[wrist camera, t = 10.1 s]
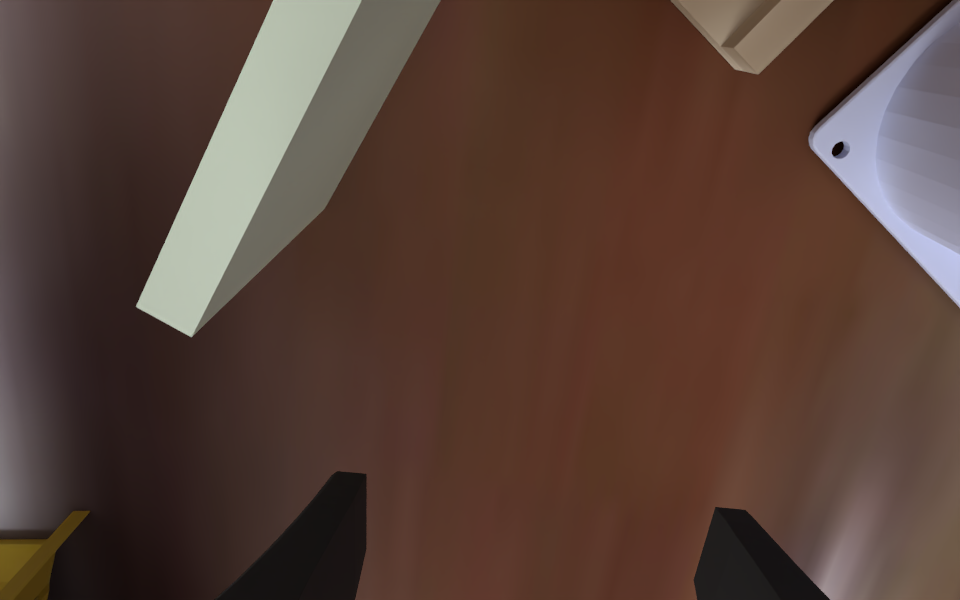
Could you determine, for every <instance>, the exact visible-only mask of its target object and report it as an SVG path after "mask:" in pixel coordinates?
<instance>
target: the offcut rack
mask: <svg viewBox="0 0 960 600" xmlns="http://www.w3.org/2000/svg"><path fill="white" fill-rule="evenodd" d="M670 1H671V2H672V3H673V4H674V5H675V6H676V7H677V8H678V9H679V10H680V11H681V12H682V13H683V14H684V15H685V17H686V18H687V19H688V20H689V21H690V22H691V23H692V24H693V25H694V26H695V27H696V28H697V29H698V30H699V32H700V33H701V34H702V35H703V36H704V37H705V38H706V39H707V40H708V41H709V42H710V43H711V44H712V45H713V46H714V48H715V49H716V50H717V51H718V52H719V53H720V54H721V55H722V56H723V57H724V58H725V59H726V60H727V61H728V63H729V64H730V65H731V66H732V67H733V68H734V69H736V70H740V71H745V72H749V73H754V74H759V73H760V72H761V71H762V70H763V69H764V68H765V67H766V66H767V65H768V64H769V63H770V62H771V61H772V60H773V59H774V58H776V57H777V56H778V55H779V54H780V53H781V52H782V51H783V50H784V49H785V48H786V47H787V46H788V45H789V44H790V43H791V42H792V41H793V40H794V39H795V38H796V37H797V36H798V35H799V34H800V33H801V32H802V31H803V30H804V29H805V28H806V27H807V26H808V25H809V24H810V23H811V22H812V21H813V20H814V19H815V18H816V17H817V16H818V15H819V14H820V13H821V12H822V11H823V10H824V9H825V8H826V7H827V6H828V5H829V4H830V3H831V2H832V1H833V0H670Z"/></svg>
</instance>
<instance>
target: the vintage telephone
mask: <svg viewBox="0 0 960 600" xmlns="http://www.w3.org/2000/svg"><path fill="white" fill-rule="evenodd" d="M89 512H90V511H73V512H72V513H71V514H70V515H69V516H68V517H67V518H66V519H65V520H64V522H63V523H62V524H61V525H60V526H59V527H58V528H57V529H56V530H55V531H54V533H53V534H52V535H51V536H50V537H49V538H48V539H0V600H47V599H48V594H49V581H50V576H51V571H52V567H53V562H54V557H55V552H56V550H57V549H58V548H59V547H60V546H61V545H62V543H63V542H64V541H65V540H66V539H67V538H68V536H69V535H70V534H71V533H72V532H73V531H74V530H75V528H76V527H77V526H78V525H79V524H80V523H81V522H82V520H83V519H84V518H85V517H86V516H87V515H88V514H89Z"/></svg>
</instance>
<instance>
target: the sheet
mask: <svg viewBox="0 0 960 600" xmlns="http://www.w3.org/2000/svg"><path fill="white" fill-rule="evenodd" d="M440 1H441V0H273V2H272V5H271V7H270V9H269V11H268V14H267V16H266V18H265V20H264V22H263V25H262V27H261V29H260V31H259V34H258V36H257V38H256V40H255V43H254V45H253V47H252V49H251V51H250V54H249V56H248V58H247V60H246V63H245V65H244V67H243V69H242V71H241V74H240V76H239V78H238V80H237V83H236V85H235V87H234V89H233V92H232V94H231V96H230V98H229V100H228V103H227V105H226V107H225V109H224V112H223V114H222V116H221V118H220V120H219V123H218V125H217V127H216V129H215V132H214V134H213V136H212V138H211V141H210V143H209V145H208V147H207V149H206V152H205V154H204V156H203V158H202V161H201V163H200V165H199V167H198V170H197V172H196V174H195V176H194V178H193V181H192V183H191V185H190V187H189V190H188V192H187V194H186V196H185V198H184V201H183V203H182V205H181V207H180V210H179V212H178V214H177V216H176V219H175V221H174V223H173V225H172V227H171V230H170V232H169V234H168V236H167V239H166V241H165V243H164V245H163V247H162V250H161V252H160V254H159V256H158V259H157V261H156V263H155V265H154V268H153V270H152V272H151V274H150V276H149V279H148V281H147V283H146V285H145V288H144V290H143V292H142V294H141V296H140V299H139V301H138V303H137V305H136V307H137V308H139V309H141V310H142V311H144V312H146V313H148V314H150V315H152V316H153V317H155V318H157V319H159V320H161V321H163V322H164V323H166V324H168V325H170V326H172V327H173V328H175V329H177V330H179V331H181V332H183V333H184V334H186V335H188V336H190V337H192V336H193V335H194V334H196V333H197V332H198V331H199V330H200V329H201V328H202V327H203V326H204V325H205V324H206V323H207V322H208V321H209V320H210V319H211V318H212V317H213V316H214V315H215V314H216V313H217V312H218V311H219V310H220V309H221V308H222V307H223V306H225V305H226V304H227V303H228V302H229V301H230V300H231V299H232V298H233V297H234V296H235V295H236V294H237V293H238V292H239V291H240V290H241V289H242V288H243V287H244V286H245V285H246V284H247V283H248V282H249V281H250V280H251V279H252V278H253V277H255V276H256V275H257V274H258V273H259V272H260V271H261V270H262V269H263V268H264V267H265V266H266V265H267V264H268V263H269V262H270V261H271V260H272V259H273V258H274V257H275V256H276V255H277V254H278V253H279V252H280V251H281V250H282V249H284V248H285V247H286V246H287V245H288V244H289V243H290V242H291V241H292V240H293V239H294V238H295V237H296V236H297V235H298V234H299V233H300V232H301V231H302V230H303V229H304V228H305V227H306V226H307V225H308V224H309V223H310V222H311V221H312V220H314V219H315V218H316V217H317V216H318V215H319V214H320V213H321V212H322V211H323V210H324V209H325V207H326V206H327V204H328V202H329V200H330V198H331V197H332V195H333V193H334V191H335V189H336V188H337V186H338V184H339V182H340V181H341V179H342V177H343V175H344V173H345V172H346V170H347V168H348V166H349V164H350V163H351V161H352V159H353V157H354V155H355V154H356V152H357V150H358V148H359V146H360V145H361V143H362V141H363V139H364V137H365V136H366V134H367V132H368V130H369V128H370V127H371V125H372V123H373V121H374V119H375V118H376V116H377V114H378V112H379V110H380V109H381V107H382V105H383V103H384V101H385V100H386V98H387V96H388V94H389V92H390V91H391V89H392V87H393V85H394V83H395V82H396V80H397V78H398V76H399V74H400V73H401V71H402V69H403V67H404V65H405V64H406V62H407V60H408V58H409V56H410V55H411V53H412V51H413V49H414V47H415V46H416V44H417V42H418V40H419V38H420V37H421V35H422V33H423V31H424V29H425V28H426V26H427V24H428V22H429V20H430V19H431V17H432V15H433V13H434V11H435V10H436V8H437V6H438V4H439V2H440Z"/></svg>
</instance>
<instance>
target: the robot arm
mask: <svg viewBox="0 0 960 600" xmlns="http://www.w3.org/2000/svg"><path fill="white" fill-rule="evenodd" d="M841 141H842V142H843V144H844V148H843V150H842V152H841V153H840V154H839V155H837V156H833V155H832V148H833V147H834V145H835V144H837V143H838V142H841ZM809 145H810V147H811V149H812V150H813V151H814V152H815V153H816V154H817V155H818V157H819V158H820V159H821V160H822V161H823V162H824V163H825V164H826V165H827V166H828V167H829V168H830V169H831V170H832V172H833V173H834V174H835V175H836V176H837V177H838V178H839V179H840V180H841V181H842V182H843V183H844V184H845V185H846V187H847V188H848V189H849V190H850V191H851V192H852V193H853V194H854V195H855V196H856V197H857V198H858V199H859V200H860V201H861V203H862V204H863V205H864V206H865V207H866V208H867V209H868V210H869V211H870V212H871V213H872V214H873V215H874V216H875V218H876V219H877V220H878V221H879V222H880V223H881V224H882V225H883V226H884V227H885V228H886V229H887V230H888V231H889V233H890V234H891V235H892V236H893V237H894V238H895V239H896V240H897V241H898V242H899V243H900V244H901V245H902V246H903V248H904V249H905V250H906V251H907V252H908V253H909V254H910V255H911V256H912V257H913V258H914V259H915V260H916V261H917V262H918V264H919V265H920V266H921V267H922V268H923V269H924V270H925V271H926V272H927V273H928V274H929V275H930V276H931V277H932V279H933V280H934V281H935V282H936V283H937V284H938V285H939V286H940V287H941V288H942V289H943V290H944V291H945V292H946V294H947V295H948V296H949V297H950V298H951V299H952V300H953V301H954V302H955V303H956V304H957V305H958V306H959V307H960V0H952V1H951V2H950V3H949V4H948V5H947V6H946V7H945V8H944V9H943V10H942V11H940V12H939V13H938V14H937V15H936V16H935V17H934V18H933V19H932V20H931V21H929V22H928V23H927V24H926V25H925V26H924V27H923V28H922V29H921V30H920V31H919V32H917V33H916V34H915V35H914V36H913V37H912V38H911V39H910V40H909V41H908V42H906V43H905V44H904V45H903V46H902V47H901V48H900V49H899V50H898V51H897V52H896V53H894V54H893V55H892V56H891V57H890V58H889V59H888V60H887V61H886V62H885V63H884V64H882V65H881V66H880V67H879V68H878V69H877V70H876V71H875V72H874V73H873V74H871V75H870V76H869V77H868V78H867V79H866V80H865V81H864V82H863V83H862V84H861V85H859V86H858V87H857V88H856V89H855V90H854V91H853V92H852V93H851V94H850V95H848V96H847V97H846V98H845V99H844V100H843V101H842V102H841V103H840V104H839V105H838V106H836V107H835V108H834V109H833V110H832V111H831V112H830V113H829V114H828V115H827V116H825V117H824V118H823V119H822V120H821V121H820V122H819V123H818V124H817V125H816V126H815V127H814V128H813V129H812V131H811V132H810V135H809ZM365 552H366V474H361V473H350V472H340V471H337V472H336V473H334V474H333V475H332V476H331V477H330V478H329V480H328V481H327V482H326V484H325V485H324V486H323V487H322V489H321V490H320V491H319V492H318V494H317V495H316V496H315V497H314V498H313V500H312V501H311V502H310V503H309V504H308V506H307V507H306V508H305V509H304V510H303V511H302V513H301V514H300V515H299V516H298V517H297V518H296V519H295V520H294V522H293V523H292V524H291V525H290V526H289V527H288V528H287V529H286V530H285V531H284V532H283V534H282V535H281V536H280V537H279V538H278V539H277V540H276V541H275V542H274V543H273V544H272V545H271V546H270V547H269V549H268V550H267V551H266V552H265V553H263V554H262V555H261V556H260V557H259V558H258V559H257V560H256V561H255V562H254V563H253V564H252V565H251V566H250V567H249V568H248V569H247V570H246V571H245V572H244V573H243V574H242V575H241V576H240V577H239V578H238V579H237V580H236V581H235V582H234V583H232V584H231V585H230V586H229V587H228V588H227V589H226V590H225V591H224V592H222V593H221V594H220V595H219V596H218V597H217V598H216V599H214V600H355V597H356V592H357V588H358V584H359V579H360V575H361V570H362V566H363V561H364V557H365ZM694 584H695V589H696V595H697V600H830V599H829V598H828V597H827V596H826V595H825V594H824V593H823V592H822V591H821V590H820V589H819V588H818V587H817V586H816V585H815V584H814V583H813V582H812V581H811V580H810V578H809V577H808V576H807V575H806V574H805V573H804V572H803V571H802V570H801V569H800V568H799V567H798V566H797V565H796V564H795V563H794V562H793V560H792V559H791V558H790V557H789V556H788V555H787V554H786V553H785V552H784V551H783V550H782V549H781V547H780V546H779V545H778V544H777V543H776V542H775V541H774V540H773V539H772V538H771V537H770V536H769V534H768V533H767V532H766V531H765V530H764V529H763V528H762V527H761V526H760V525H759V524H758V523H757V521H756V520H755V519H754V518H753V517H752V516H751V515H750V514H749V513H748V512H747V511H746V510H740V509H730V508H719V507H715V510H714V514H713V517H712V521H711V524H710V527H709V531H708V534H707V537H706V541H705V544H704V547H703V551H702V554H701V557H700V561H699V564H698V567H697V571H696V574H695V577H694Z"/></svg>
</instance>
